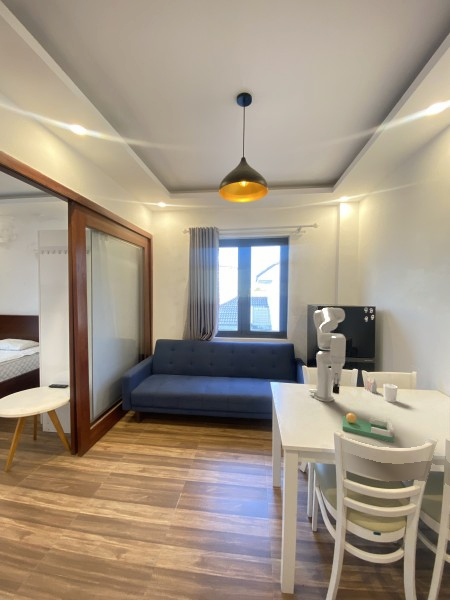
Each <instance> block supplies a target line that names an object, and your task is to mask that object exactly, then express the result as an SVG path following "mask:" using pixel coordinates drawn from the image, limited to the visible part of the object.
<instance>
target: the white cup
mask: <svg viewBox="0 0 450 600" xmlns="http://www.w3.org/2000/svg"><path fill="white" fill-rule="evenodd" d="M382 389H383V400H384V401H385V402H388V403H394V404H395V403H396V402H397V401H396V400H397V395H398V386H397V385H395V384H392V383H383V388H382Z"/></svg>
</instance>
